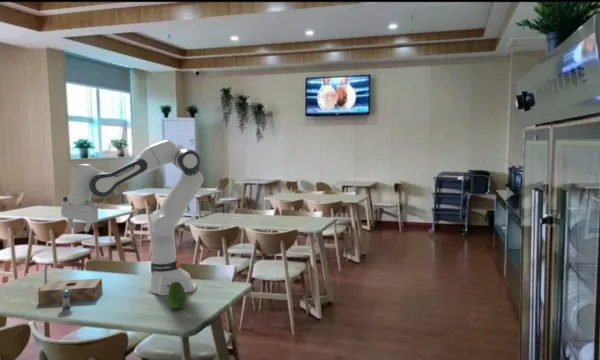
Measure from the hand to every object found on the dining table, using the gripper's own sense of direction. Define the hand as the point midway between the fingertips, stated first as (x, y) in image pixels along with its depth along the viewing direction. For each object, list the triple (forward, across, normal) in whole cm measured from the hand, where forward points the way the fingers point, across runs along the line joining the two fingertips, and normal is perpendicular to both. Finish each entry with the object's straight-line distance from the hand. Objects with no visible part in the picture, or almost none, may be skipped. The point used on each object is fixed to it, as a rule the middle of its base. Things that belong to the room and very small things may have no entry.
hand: (78, 229), depth 208 cm
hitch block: (+34, +6, -3) cm, 34 cm away
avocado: (+29, -50, -12) cm, 59 cm away
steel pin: (+33, -5, +8) cm, 35 cm away
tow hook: (+35, +27, -8) cm, 45 cm away
